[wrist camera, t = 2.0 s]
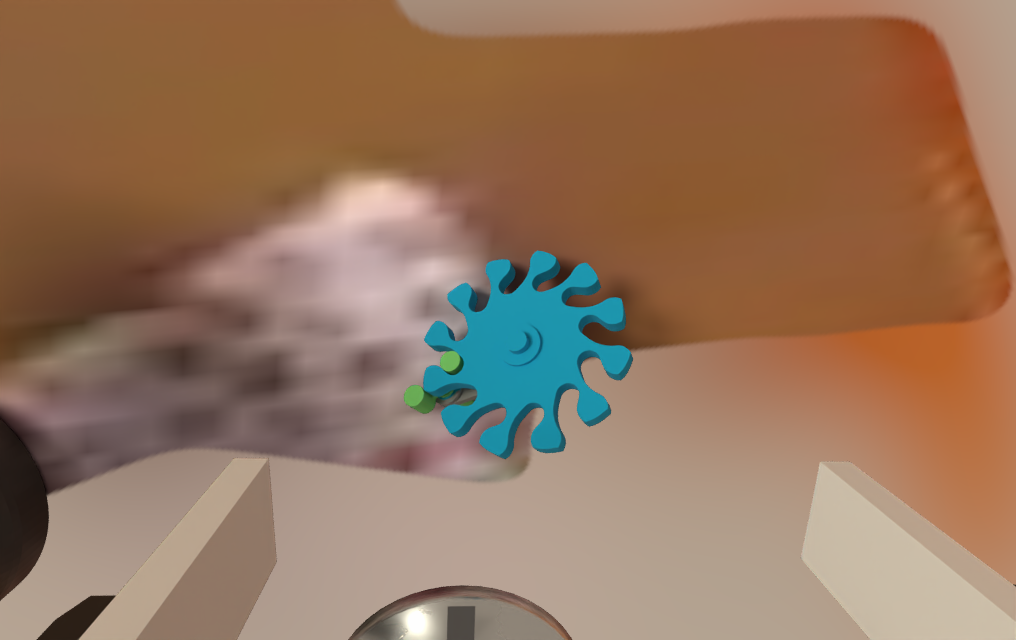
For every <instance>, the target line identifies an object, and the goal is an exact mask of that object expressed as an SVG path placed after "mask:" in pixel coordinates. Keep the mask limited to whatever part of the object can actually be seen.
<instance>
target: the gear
mask: <svg viewBox="0 0 1016 640" xmlns="http://www.w3.org/2000/svg"><path fill="white" fill-rule="evenodd" d="M559 270H560V265H559V263H558V261H557V258H556V257H554V256H553V255H551V254H549V253H546V252H542V251H536V252H535V253H534V254H533V255H532V257H531V260H530V269H529V272H528V275H527V277H526V278H525V280H524V282H523V283H522V284H521V285H520V286H519V287H518V288H517V289H516V290H515V291H514V292H513V293H511V294H504V291H505V289H506V288H507V286H508V285H509V284H510V283H511V282H512V281H513V280H514V278H515V269H514V267H513V266H512V264H511V263H510V261H509V260H505V259H502V260H495V261H492V262H488V264H487V266H486V274H487V275H488V277H489V280H490V283H491V293H490V298H489V301H488V304H487V306H486V308H485V309H484V310H482V311H480V312H475V307H476V304H477V300H478V298H477V294H476V293H475V291H474V290H473V289H472V288H471V287H470V285H469V284H467V283H464V284H461V285H459V286H457V287H456V288H455V289H453V290H452V291H451V292H450V293H448V296H447V297H448V301H449V302H450V303H451V304H452V305H453V306H454V308H455V309H456V310H458V311H459V312H461V313H463V314H464V316H465V318H466V321H467V326H468V333H467V335H466V337H465V338H464V339H462V340H460V341H455V337H454V333H453V331H452V330H451V329H450V328H449V327H448V326H447V325H446V324H444V323H443V322H441V321H436V322H435V323H434V324H433V325H432V326H431V328H430V329H429V331H428V332H427V334H426V336H425V338H424V341H425V342H426V343H427V344H428V345H429V346H430V347H432V348H433V349H434V350H436V351H439V352H443V351H448V352H446V353H445V354H444V355H443V356H442V357H441V360H440V366H441V367H439V366H436V365H432V366H429V367H427V368H426V370H425V374H424V382H423V384H424V389H423V388H422V387H420V386H418V385H413V386H410V387H409V388H408V389H407V390H406V392H405V394H404V401H405V403H406V404H407V405H408V406H410V407H412V408H414V409H415V410H417V411H419V412H421V413H424V414H425V413H429V412H431V411H432V410H433V408H434V407H435V404H436V402H437V403H439V404H440V405H442V406H443V407H445V408H444V409H443V410H442V412H441V416H442V420H443V422H444V424H445V426H446V428H447V429H448V431H449V432H450V433H451V434H453V435H454V436H456V437H461V436H464V435H465V434H467V433H468V432H469V430H470V429H471V427H472V425H473V424H474V423H475V422H476V421H477V420H478V419H479V418H480V417H481V416H483V415H484V414H486V413H488V412H490V411H492V410H495V409H498V408H506V418H505V420H504V421H503V422H502V423H501V424H499V425H496V426H493V427H490V428H488V429H487V430H485V431H484V432H483V434H482V435H481V438H480V442H479V443H480V444H481V445H482V446H483V447H484V448H485V449H486V450H488V451H490V452H491V453H493V454H495V455H497V456H499V457H501V458H504V459H506V458H508V457H509V456H510V455H511V453H512V451H513V448H514V438H515V434H516V431H517V428H518V426H519V425H520V423H521V421H522V420H523V419H524V418H525V417H526V415H527V414H528V413H529V412H530V411H531V410H532V409H534V408H543V409H544V418H543V420H542V421H541V423H540V424H539V425H538V426H537V427H536V428H535V429H534V431H533V433H532V435H531V443H532V446H533V448H535V449H536V450H537V451H539V452H543V453H556V452H561V451H563V450H564V448H565V444H566V440H565V437H564V435H563V433H562V431H561V429H560V426H559V422H558V407H559V403H560V399H561V396H562V394H563V393H564V392H565V391H566V390H569V389H576V390H578V391H579V400H578V404H577V412H578V415H579V417H580V418H581V419H582V421H583V422H584V423H585V424H586V425H587V426H593V425H596V424H598V423H599V422H601V421H602V420H604V419H605V418H606V417H608V416H609V415H610V414H611V409H610V406H609V404H608V403H607V401H606V399H605V398H604V397H603V396H602V395H600V394H598V393H596V392H595V391H593V390H592V389H590V388H589V387H588V386H587V384H586V383H585V381H584V378H583V375H582V372H581V364H582V362H583V361H584V360H585V359H587V358H589V357H596V358H599V359H600V360H601V362H602V365H603V367H604V369H605V371H606V373H607V374H608V376H609V377H611V378H613V379H615V380H622V379H623V378H624V377H625V376H626V374H627V373H628V371H629V369H630V366H631V364H632V361H633V357H632V354H631V352H630V351H629V350H628V349H627V348H626V347H623V346H619V345H616V346H607V345H601V344H598V343H596V342H593V341H592V340H590V339H589V338H587V337H586V336H585V335H583V334H582V330H583V328H584V327H585V325H587V324H588V323H590V322H597V323H600V324H601V325H602V326H604V327H605V328H606V329H608V330H610V331H620V330H623V329H624V328H625V324H626V315H625V310H624V306H623V303H622V300H621V299H620V298H616V297H613V298H609V299H606V300H605V301H603V302H602V303H599V304H597V305H594V306H591V307H584V308H582V307H570V306H566V305H565V304H566V301H567V299H568V298H569V297H571V296H572V295H592V294H595V293H596V292H598V291H599V289H600V288H601V286H600V283H599V280H598V277H597V275H596V273H595V271H594V270H593V269H592V268H591V267H590V266H589V265H588V264H587V263H582V264H580V265H578V266H577V267H576V268H575V269H574V270H573V272H572V273H571V275H570V276H569V277H568V278H567V279H566V280H565V281H564V282H563V283H561V284H560V285H558V286H557V287H554V288H552V289H550V290H547V291H544V292H538V291H537V288H538V286H539V285H540V284H541V283H543V282H545V281H547V280H550V279H552V278H554V277H555V276H556V275H557V274H558V273H559ZM474 399H476V400H475V401H474Z"/></svg>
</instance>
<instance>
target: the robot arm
mask: <svg viewBox="0 0 1016 640" xmlns="http://www.w3.org/2000/svg"><path fill="white" fill-rule="evenodd" d="M48 519H49V512H48V502H47V496H46V492H45V488H44V485H43V482H42V479H41V476H40V474H39V471H38V469H37V467H36V465H35V463H34V461H33V459H32V458H31V456H30V454H29V453H28V451H27V450H26V448H25V447H24V445H23V444H22V442H21V441H20V440H19V439H18V437H17V436H16V435H15V434H14V433H13V431H12V430H11V429H10V428H9V427H8V426H7V425H6V424H5V423H4V422H3V421H2V420H1V419H0V600H1V599H3V598H4V597H5V596H6V595H7V594H8V593H9V592H11V591H12V590H13V589H14V588H15V587H16V586H17V585H18V584H19V583H20V582H21V581H22V580H23V579H24V578H25V577H26V576H27V575H28V574H29V573H30V571H31V570H32V568H33V567H34V566H35V564H36V562H37V560H38V558H39V557H40V555H41V552H42V550H43V547H44V544H45V540H46V537H47V531H48V521H49V520H48ZM801 559H802V561H803V562H804V563H805V564H806V565H807V566H808V568H809V569H810V570H811V571H812V572H813V573H814V575H816V577H817V578H818V579H819V580H820V582H821V583H822V584H823V585H824V586H825V587H826V589H827V590H828V591H829V592H830V593H831V594H832V596H833V597H834V598H835V599H836V600H837V601H838V602H839V604H840V605H841V606H842V607H843V608H844V609H845V611H846V612H847V613H848V614H849V615H850V616H851V618H852V619H853V620H854V621H855V622H856V623H857V625H858V626H859V627H860V628H861V629H862V630H863V632H864V633H865V634H866V635H867V636H868V637H869V639H870V640H1016V585H1014V584H1011V583H1010V582H1009V581H1008V580H1006V579H1005V578H1004V577H1002V576H1001V575H1000V574H998V573H997V572H995V571H994V570H993V569H992V568H990V567H989V566H988V565H986V564H985V563H984V562H982V561H981V560H979V559H978V558H977V557H975V556H974V555H973V554H972V553H970V552H969V551H968V550H966V549H965V548H964V547H962V546H961V545H960V544H958V543H957V542H956V541H955V540H953V539H952V538H951V537H949V536H948V535H947V534H945V533H944V532H943V531H941V530H940V529H938V528H937V527H936V526H935V525H933V524H932V523H931V522H929V521H928V520H927V519H925V518H924V517H923V516H921V515H920V514H919V513H917V512H916V511H915V510H913V509H912V508H911V507H909V506H908V505H907V504H905V503H904V502H903V501H901V500H900V499H899V498H897V497H896V496H895V495H893V494H892V493H891V492H890V491H888V490H887V489H886V488H884V487H883V486H882V485H880V484H879V483H878V482H876V481H875V480H873V479H872V478H871V477H870V476H868V475H867V474H866V473H864V472H863V471H862V470H860V469H859V468H858V467H856V466H855V465H854V464H852V463H851V462H820V465H819V470H818V475H817V480H816V485H815V490H814V495H813V500H812V505H811V510H810V515H809V520H808V524H807V530H806V535H805V539H804V545H803V549H802V555H801ZM276 562H277V560H276V548H275V534H274V522H273V509H272V495H271V482H270V469H269V458H234V459H233V460H232V461H231V462H230V464H229V465H228V466H227V467H226V468H225V469H224V470H223V472H222V473H221V474H220V475H219V476H218V478H217V479H216V480H215V481H214V482H213V483H212V484H211V486H210V487H209V488H208V489H207V490H206V492H205V493H204V494H203V495H202V496H201V497H200V498H199V500H198V501H197V502H196V503H195V504H194V506H193V507H192V508H191V509H190V510H189V512H187V514H186V515H185V516H184V517H183V518H182V519H181V521H180V522H179V523H178V524H177V525H176V526H175V528H174V529H173V530H172V531H171V532H170V534H169V535H168V536H167V537H166V538H165V539H164V540H163V542H162V543H161V544H160V545H159V546H158V547H157V549H156V550H155V551H154V552H153V553H152V555H151V556H150V557H149V558H148V559H147V560H146V562H145V563H144V564H143V565H142V566H141V567H140V568H139V570H138V571H137V572H136V573H135V574H134V575H133V577H132V578H131V579H130V580H129V581H128V582H127V584H126V585H125V586H124V587H123V589H121V591H120V592H119V593H118V594H117V595H116V596H90V597H88V598H87V599H86V600H84V601H82V602H81V603H80V604H78V605H77V606H75V607H74V608H72V609H71V610H69V611H68V612H66V613H65V614H64V615H62V616H60V617H59V618H57V619H56V620H55V621H54V622H53V623H52V624H51V625H50V626H49V627H48V628H47V629H46V630H45V631H44V633H42V635H41V636H40V637H39V638H38V639H37V640H237V638H238V636H239V634H240V632H241V630H242V628H243V626H244V624H245V622H246V620H247V619H248V617H249V615H250V613H251V611H252V609H253V607H254V605H255V603H256V601H257V599H258V597H259V595H260V593H261V591H262V589H263V587H264V585H265V583H266V582H267V580H268V577H269V575H270V574H271V572H272V570H273V568H274V566H275V564H276Z"/></svg>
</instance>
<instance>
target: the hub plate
mask: <svg viewBox="0 0 1016 640" xmlns="http://www.w3.org/2000/svg"><path fill="white" fill-rule="evenodd" d="M349 640H572V639H571V637H570V636H569V634H568V633H567V632H566V630H565V629H564V628H563V626H562V625H561V624H560V623H559V622H558V621H557V620H556V619H555V618H554V617H553V616H551V615H550V614H549V613H548V612H546V611H545V610H544V609H542V608H541V607H539V606H537V605H536V604H534V603H532V602H530V601H529V600H527V599H524V598H522V597H520V596H517V595H515V594H512V593H509V592H505V591H502V590H498V589H493V588H487V587H481V586H446V587H439V588H434V589H428V590H425V591H421V592H418V593H414V594H411V595H409V596H406V597H404V598H401V599H399V600H397V601H394V602H393V603H391V604H389V605H387V606H385V607H384V608H382V609H380V610H379V611H378V612H376V613H375V614H373V615H372V616H371V617H370V618H368V619H367V620H366V621H365V622H364V623H363V624H362V625H361V626H360V627H359V628H358V629H356V631H355V632H354V633H353V634H352V636H351V637H350V638H349Z"/></svg>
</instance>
